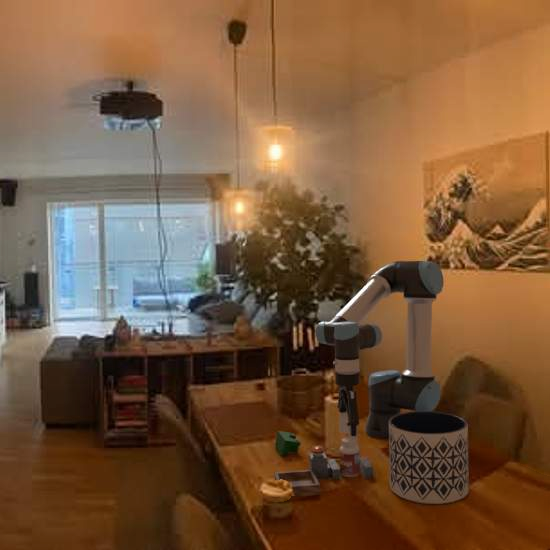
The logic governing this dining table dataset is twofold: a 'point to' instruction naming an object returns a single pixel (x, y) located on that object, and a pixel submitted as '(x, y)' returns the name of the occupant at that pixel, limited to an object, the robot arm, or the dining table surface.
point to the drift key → (317, 451)
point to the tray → (301, 482)
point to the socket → (335, 467)
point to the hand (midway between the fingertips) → (348, 439)
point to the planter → (428, 457)
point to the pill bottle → (349, 459)
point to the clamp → (286, 443)
